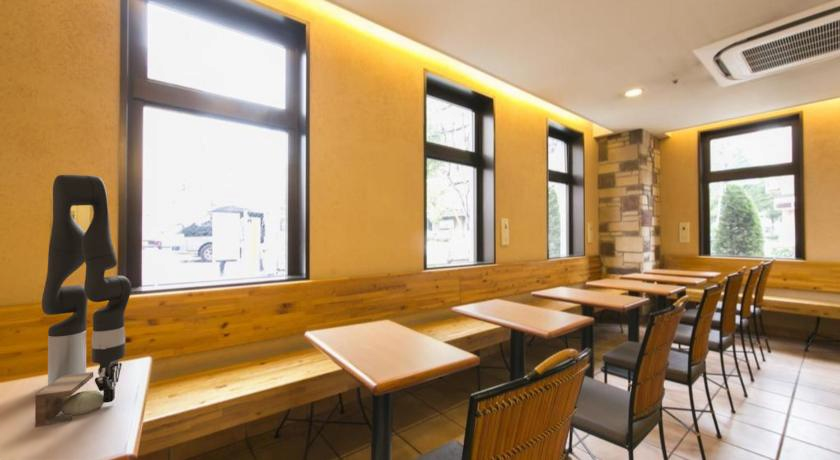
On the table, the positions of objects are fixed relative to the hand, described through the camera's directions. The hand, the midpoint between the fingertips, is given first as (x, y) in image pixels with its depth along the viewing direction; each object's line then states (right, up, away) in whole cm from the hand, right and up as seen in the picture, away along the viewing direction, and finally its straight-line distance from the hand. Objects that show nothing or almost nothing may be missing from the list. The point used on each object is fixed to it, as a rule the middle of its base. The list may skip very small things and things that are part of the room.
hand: (109, 401), depth 105 cm
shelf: (-8, -1, -3) cm, 9 cm away
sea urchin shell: (-5, -2, -2) cm, 6 cm away
